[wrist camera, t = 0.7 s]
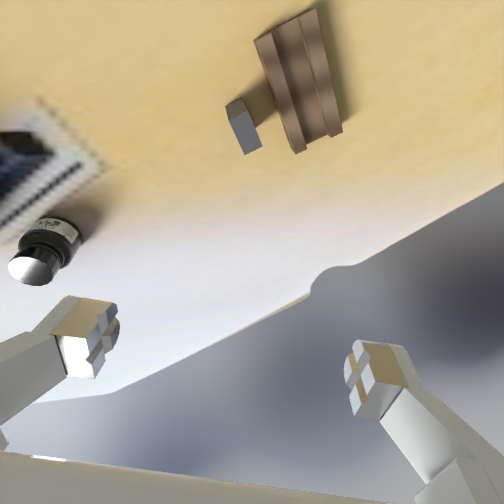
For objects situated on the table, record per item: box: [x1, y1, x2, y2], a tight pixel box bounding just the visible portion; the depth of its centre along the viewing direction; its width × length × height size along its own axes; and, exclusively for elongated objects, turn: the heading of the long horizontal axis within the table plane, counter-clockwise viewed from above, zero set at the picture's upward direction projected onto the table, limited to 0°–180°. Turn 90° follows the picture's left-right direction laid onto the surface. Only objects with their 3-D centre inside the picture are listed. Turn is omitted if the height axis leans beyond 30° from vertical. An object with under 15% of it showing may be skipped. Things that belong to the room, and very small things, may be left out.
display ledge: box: [254, 8, 343, 154], centre depth 47 cm, size 18×9×4 cm, turn 24°
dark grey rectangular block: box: [225, 98, 262, 155], centre depth 46 cm, size 3×6×10 cm, turn 24°
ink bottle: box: [8, 217, 82, 286], centre depth 54 cm, size 10×9×12 cm
